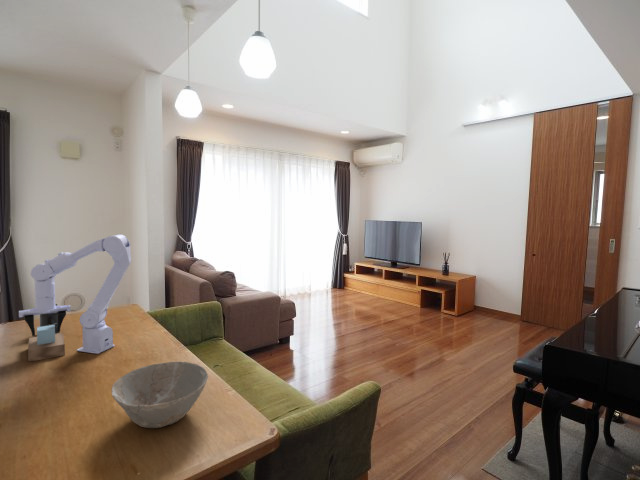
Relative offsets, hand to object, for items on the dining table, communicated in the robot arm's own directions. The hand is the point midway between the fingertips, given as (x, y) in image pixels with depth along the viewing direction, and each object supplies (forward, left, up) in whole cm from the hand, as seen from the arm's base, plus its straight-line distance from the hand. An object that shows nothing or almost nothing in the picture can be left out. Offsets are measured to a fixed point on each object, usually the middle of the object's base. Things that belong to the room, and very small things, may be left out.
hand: (46, 333), depth 124 cm
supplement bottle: (+16, -15, -7) cm, 23 cm away
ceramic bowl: (-66, +24, -7) cm, 70 cm away
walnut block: (0, 0, -7) cm, 7 cm away
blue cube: (0, 0, -3) cm, 3 cm away
